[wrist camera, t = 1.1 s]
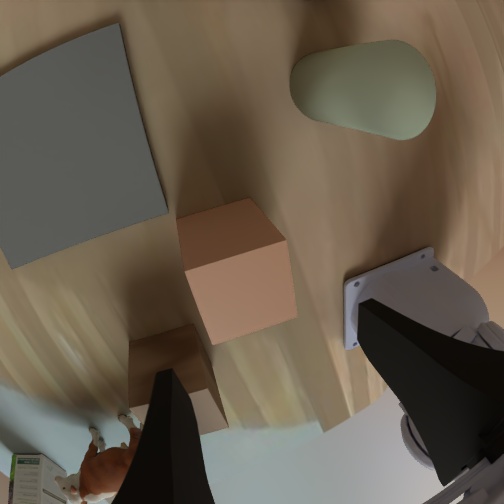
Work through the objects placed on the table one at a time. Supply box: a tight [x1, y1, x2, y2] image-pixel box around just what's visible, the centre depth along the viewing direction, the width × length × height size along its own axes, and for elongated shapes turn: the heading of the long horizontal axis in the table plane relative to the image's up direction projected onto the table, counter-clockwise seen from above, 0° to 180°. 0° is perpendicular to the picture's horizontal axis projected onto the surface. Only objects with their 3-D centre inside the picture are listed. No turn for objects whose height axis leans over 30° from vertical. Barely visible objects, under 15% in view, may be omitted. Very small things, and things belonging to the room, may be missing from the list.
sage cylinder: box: [290, 40, 436, 140], centre depth 14 cm, size 4×4×7 cm
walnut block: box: [129, 324, 229, 435], centre depth 20 cm, size 5×5×6 cm
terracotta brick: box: [176, 198, 298, 345], centre depth 17 cm, size 4×4×6 cm
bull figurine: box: [54, 415, 143, 504], centre depth 22 cm, size 4×13×8 cm, turn 109°
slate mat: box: [0, 23, 169, 269], centre depth 14 cm, size 11×11×1 cm
